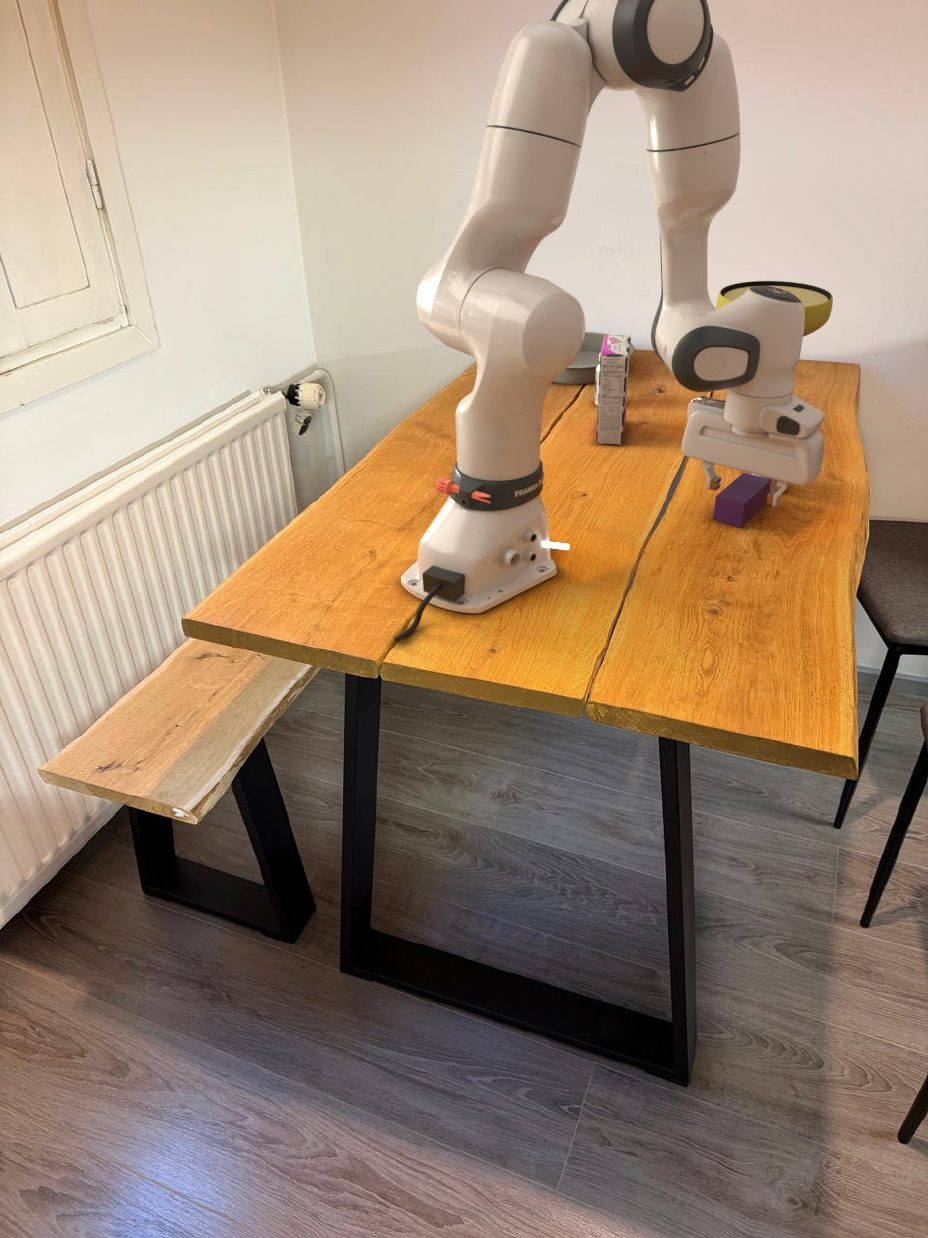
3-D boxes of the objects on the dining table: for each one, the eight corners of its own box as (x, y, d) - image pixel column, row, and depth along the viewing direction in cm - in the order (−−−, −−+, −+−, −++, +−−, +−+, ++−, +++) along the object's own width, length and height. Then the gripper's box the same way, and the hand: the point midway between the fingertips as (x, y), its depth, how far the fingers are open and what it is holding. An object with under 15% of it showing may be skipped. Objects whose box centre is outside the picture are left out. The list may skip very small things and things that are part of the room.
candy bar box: (599, 421, 167) (604, 333, 158) (625, 423, 166) (632, 334, 157) (594, 444, 158) (599, 353, 149) (622, 446, 157) (629, 354, 148)
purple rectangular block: (741, 528, 131) (744, 503, 129) (712, 520, 133) (715, 495, 131) (767, 502, 137) (771, 479, 135) (739, 495, 140) (743, 472, 137)
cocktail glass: (689, 450, 155) (707, 302, 141) (712, 414, 168) (730, 277, 154) (797, 465, 148) (826, 312, 134) (812, 427, 162) (840, 284, 148)
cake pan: (511, 354, 203) (511, 334, 200) (617, 347, 204) (618, 327, 202) (530, 391, 182) (530, 369, 180) (647, 382, 184) (648, 361, 181)
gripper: (679, 399, 129) (669, 486, 136) (819, 429, 118) (799, 522, 126) (699, 387, 133) (688, 472, 141) (836, 415, 122) (816, 506, 130)
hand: (742, 496), depth 133 cm, fingers open, 8 cm apart
